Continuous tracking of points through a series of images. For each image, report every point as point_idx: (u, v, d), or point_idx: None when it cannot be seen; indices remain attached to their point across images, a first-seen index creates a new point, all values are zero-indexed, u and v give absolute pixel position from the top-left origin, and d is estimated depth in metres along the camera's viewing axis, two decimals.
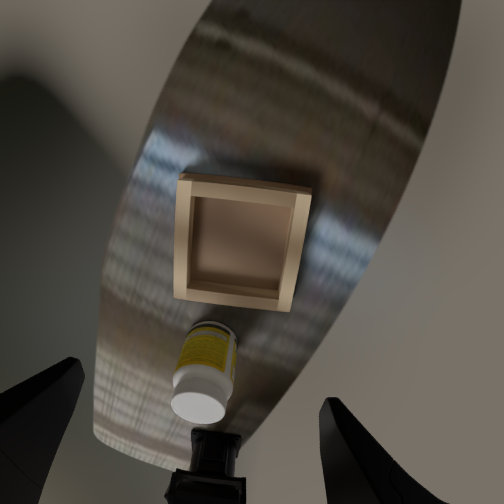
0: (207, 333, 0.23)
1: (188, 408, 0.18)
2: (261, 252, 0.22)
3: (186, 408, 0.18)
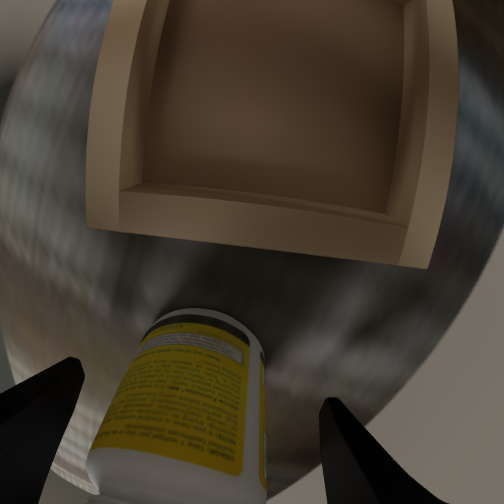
0: (187, 342, 0.08)
1: None
2: (346, 98, 0.07)
3: None
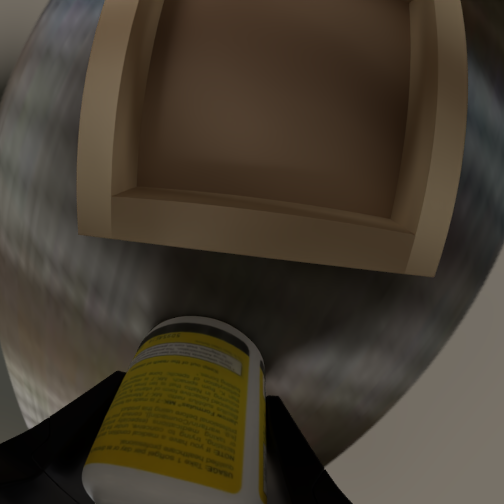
0: (184, 353, 0.07)
1: None
2: (350, 97, 0.06)
3: None
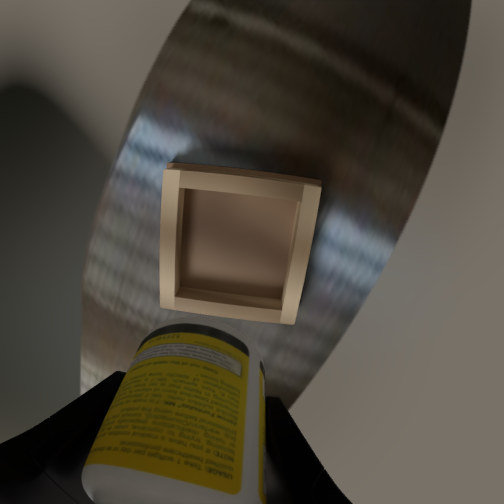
0: (184, 353, 0.07)
1: None
2: (261, 255, 0.19)
3: None
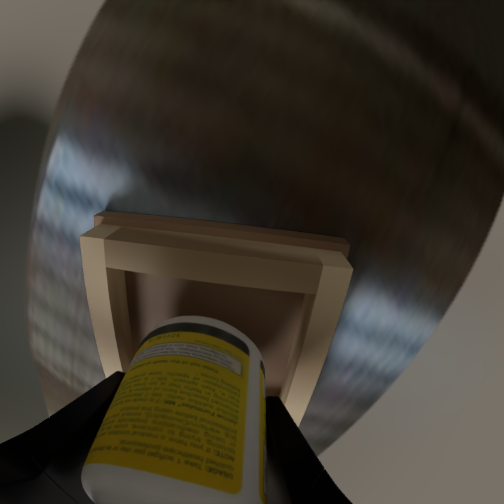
0: (184, 353, 0.07)
1: None
2: None
3: None
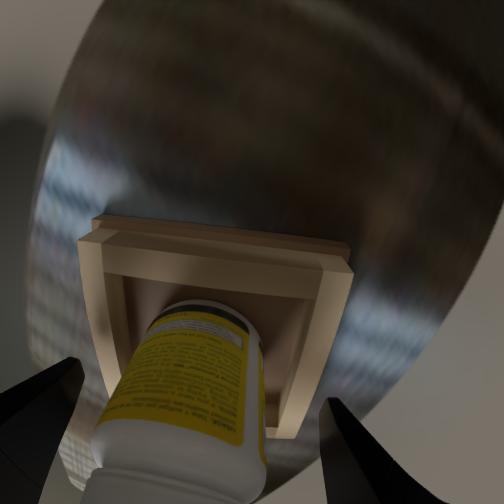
0: (191, 327, 0.08)
1: None
2: None
3: None
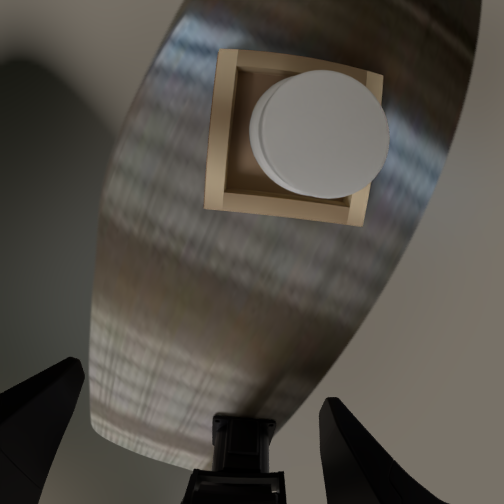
0: None
1: (307, 130, 0.07)
2: None
3: (303, 132, 0.07)
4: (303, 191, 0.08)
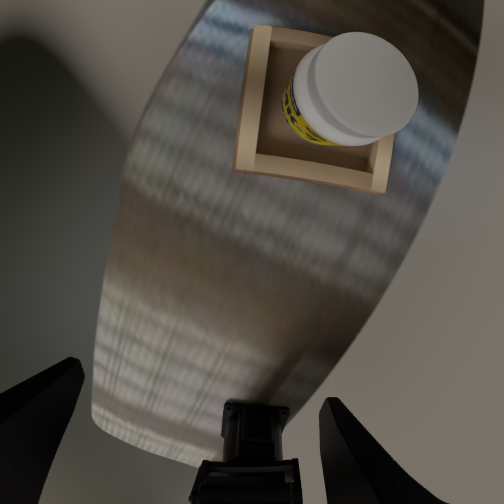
0: None
1: (352, 76, 0.08)
2: None
3: (349, 77, 0.08)
4: (349, 126, 0.08)
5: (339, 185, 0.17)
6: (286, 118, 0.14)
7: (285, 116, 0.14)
